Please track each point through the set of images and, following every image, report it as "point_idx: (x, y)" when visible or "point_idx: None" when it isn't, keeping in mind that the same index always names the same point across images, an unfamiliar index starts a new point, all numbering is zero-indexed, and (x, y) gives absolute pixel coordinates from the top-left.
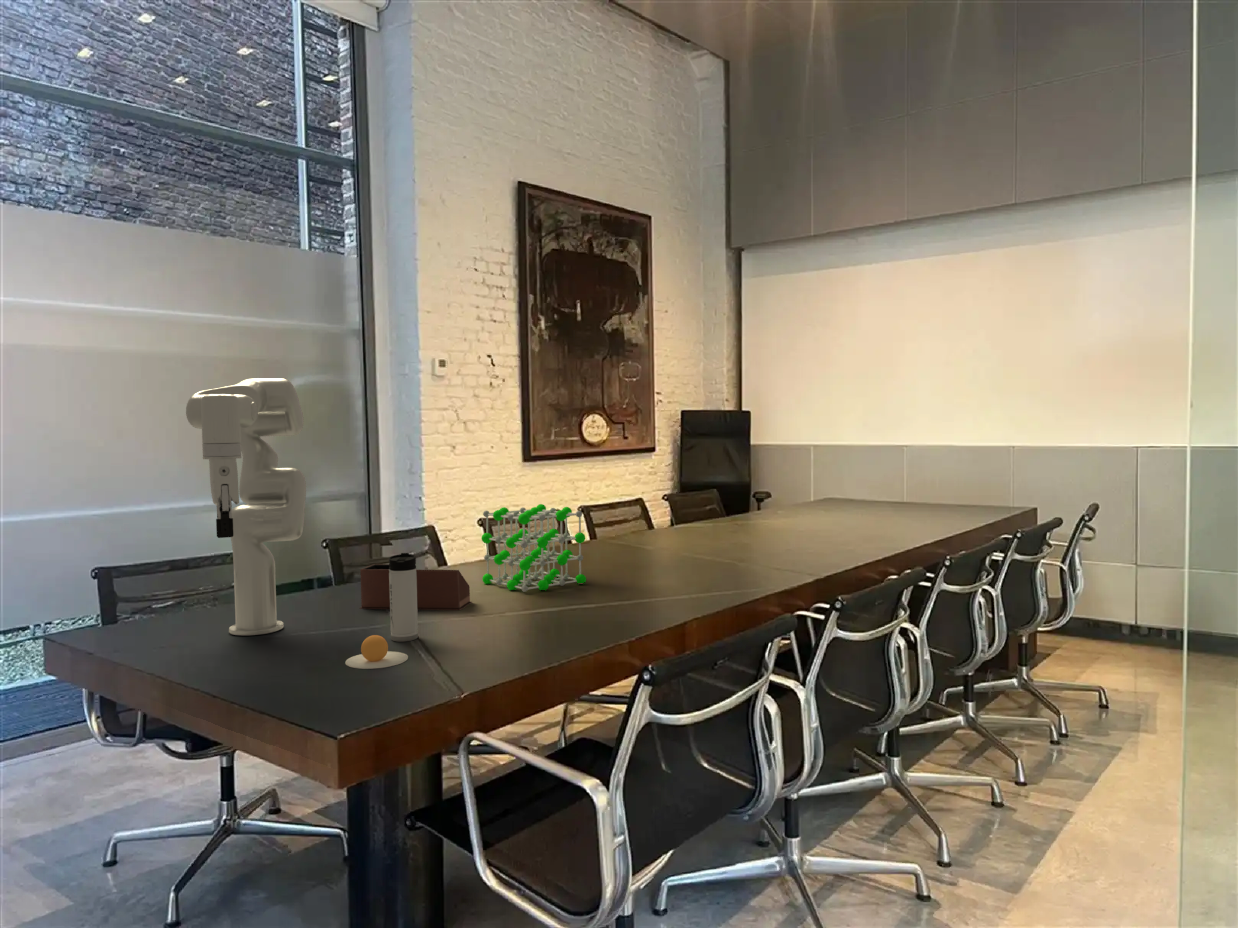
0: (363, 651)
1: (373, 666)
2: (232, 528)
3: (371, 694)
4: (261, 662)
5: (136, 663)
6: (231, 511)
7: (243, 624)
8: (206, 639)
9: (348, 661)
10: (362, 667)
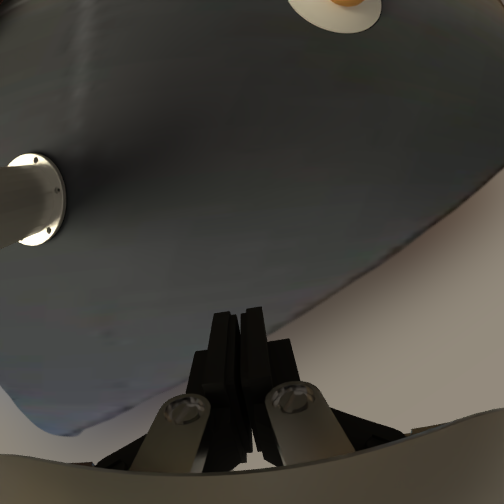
0: (358, 3)
1: (375, 6)
2: (264, 333)
3: (480, 49)
4: (275, 160)
5: None
6: (339, 425)
7: (44, 220)
8: (71, 275)
9: (333, 27)
10: (376, 18)
